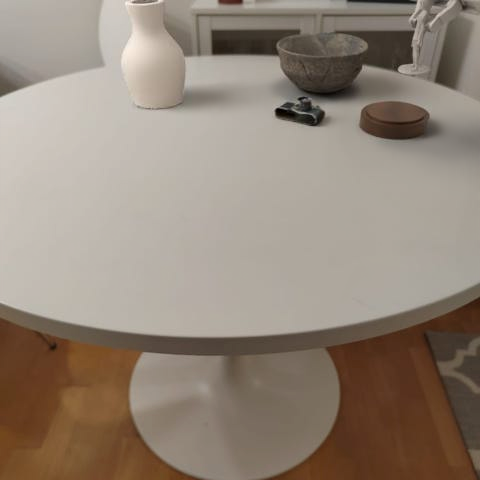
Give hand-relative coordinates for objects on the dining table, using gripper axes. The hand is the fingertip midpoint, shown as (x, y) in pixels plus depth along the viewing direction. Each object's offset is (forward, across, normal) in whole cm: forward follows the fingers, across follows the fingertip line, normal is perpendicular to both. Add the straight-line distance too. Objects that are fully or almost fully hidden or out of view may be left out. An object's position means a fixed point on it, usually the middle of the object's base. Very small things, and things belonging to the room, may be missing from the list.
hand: (421, 27), depth 72 cm
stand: (+10, -7, +17) cm, 21 cm away
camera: (+20, -20, +7) cm, 29 cm away
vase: (+36, -46, -9) cm, 59 cm away
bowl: (+11, -34, +16) cm, 39 cm away
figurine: (+4, 0, +5) cm, 7 cm away
